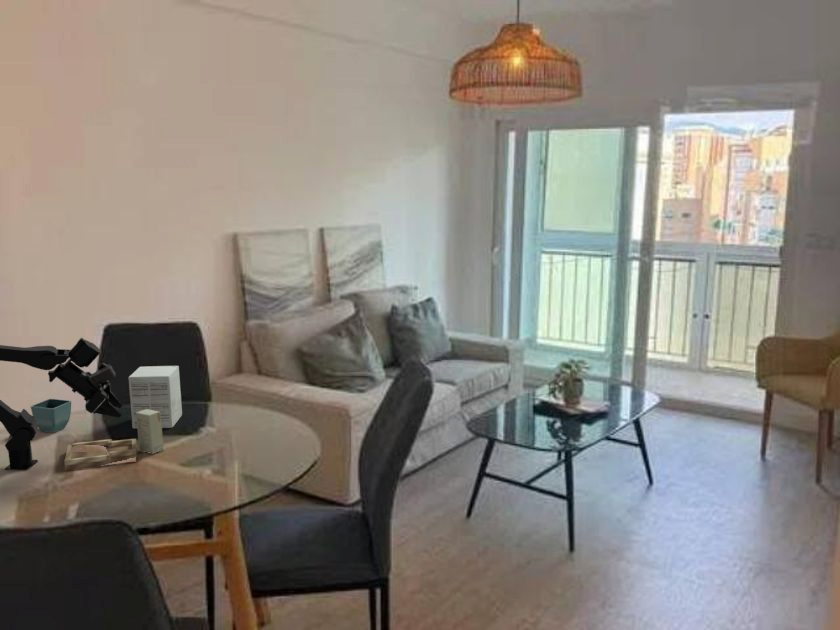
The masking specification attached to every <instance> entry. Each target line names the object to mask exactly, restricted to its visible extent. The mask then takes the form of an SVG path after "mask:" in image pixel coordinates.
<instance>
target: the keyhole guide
mask: <svg viewBox="0 0 840 630" xmlns="http://www.w3.org/2000/svg"><path fill="white" fill-rule="evenodd" d="M77 445H100V446H104V447H106V449H107V451H108V452H107V453H106V454H105V455H97V454H96V455H95V454H92V453H87V452H72V447H74V446H77ZM66 449H67V450H66V453H65V457H64V462H63V463H64V471H65V472H67V471H74V470H75V471H76V470H84V469H92V468H98V467H97V466H101V465H105V464H108V463H112V462H117V461H122V460H127V459H129V458H135V457H136V456H137V457H138V439H136V438H129V439H120V440H113V439H112V438H109V439H99V440H93V441H92V440H91V441H84V442H83V441H81V442H73V443H68V446H67V448H66ZM101 467H102V466H101Z"/></svg>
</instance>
